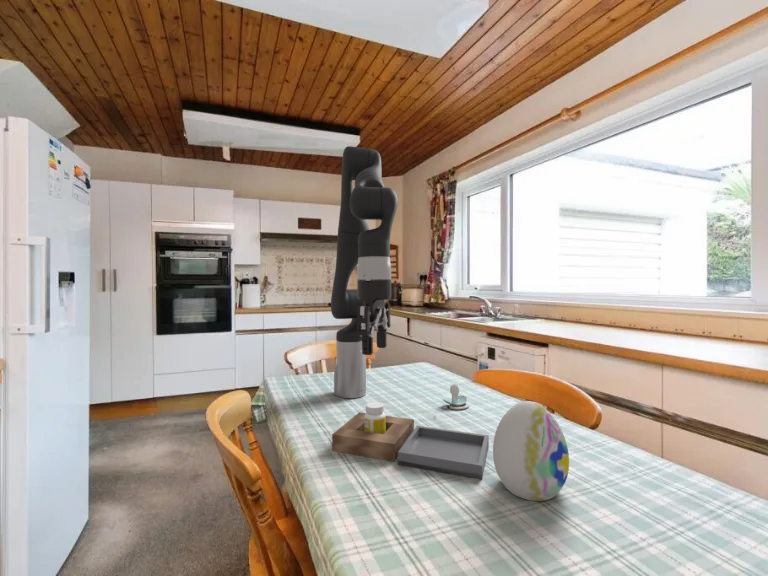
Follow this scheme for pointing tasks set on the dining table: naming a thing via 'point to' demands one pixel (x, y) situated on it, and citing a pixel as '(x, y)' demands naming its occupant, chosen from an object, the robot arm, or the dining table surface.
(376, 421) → the supplement bottle
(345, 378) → the robot arm
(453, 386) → the pacifier
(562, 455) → the decorative egg
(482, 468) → the charcoal tray
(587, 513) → the dining table surface
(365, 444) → the walnut holder
